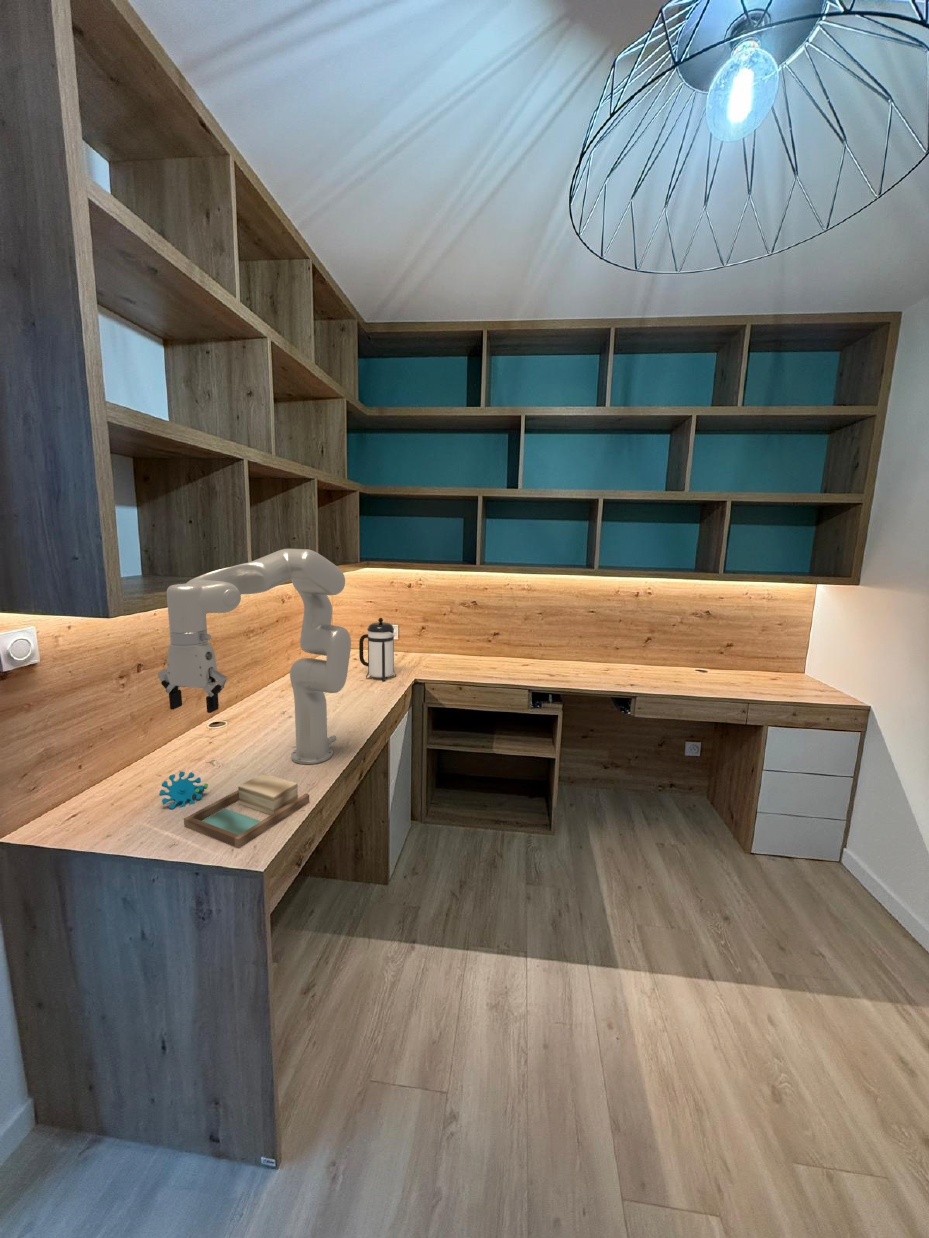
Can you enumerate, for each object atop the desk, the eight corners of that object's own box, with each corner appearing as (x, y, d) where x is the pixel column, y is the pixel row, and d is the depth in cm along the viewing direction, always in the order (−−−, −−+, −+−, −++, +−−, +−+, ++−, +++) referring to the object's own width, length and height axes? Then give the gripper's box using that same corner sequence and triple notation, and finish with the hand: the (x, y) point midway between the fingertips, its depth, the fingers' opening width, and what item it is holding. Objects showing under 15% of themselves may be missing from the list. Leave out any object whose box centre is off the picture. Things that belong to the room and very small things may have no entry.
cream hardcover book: (264, 790, 136) (263, 772, 135) (298, 801, 131) (297, 783, 130) (239, 804, 129) (238, 785, 128) (274, 816, 124) (273, 797, 123)
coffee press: (393, 672, 259) (393, 614, 254) (398, 681, 244) (398, 619, 239) (359, 674, 254) (358, 615, 249) (361, 683, 239) (361, 620, 234)
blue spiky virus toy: (159, 811, 124) (160, 772, 129) (157, 819, 127) (158, 781, 133) (209, 804, 130) (208, 767, 135) (205, 812, 134) (204, 776, 139)
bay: (259, 789, 138) (258, 779, 138) (309, 805, 131) (309, 794, 130) (184, 830, 119) (183, 818, 118) (239, 851, 111) (238, 839, 111)
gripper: (233, 637, 118) (237, 707, 120) (168, 633, 121) (174, 701, 124) (211, 643, 110) (216, 718, 113) (143, 639, 113) (149, 711, 116)
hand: (194, 709), depth 118 cm, fingers open, 9 cm apart
